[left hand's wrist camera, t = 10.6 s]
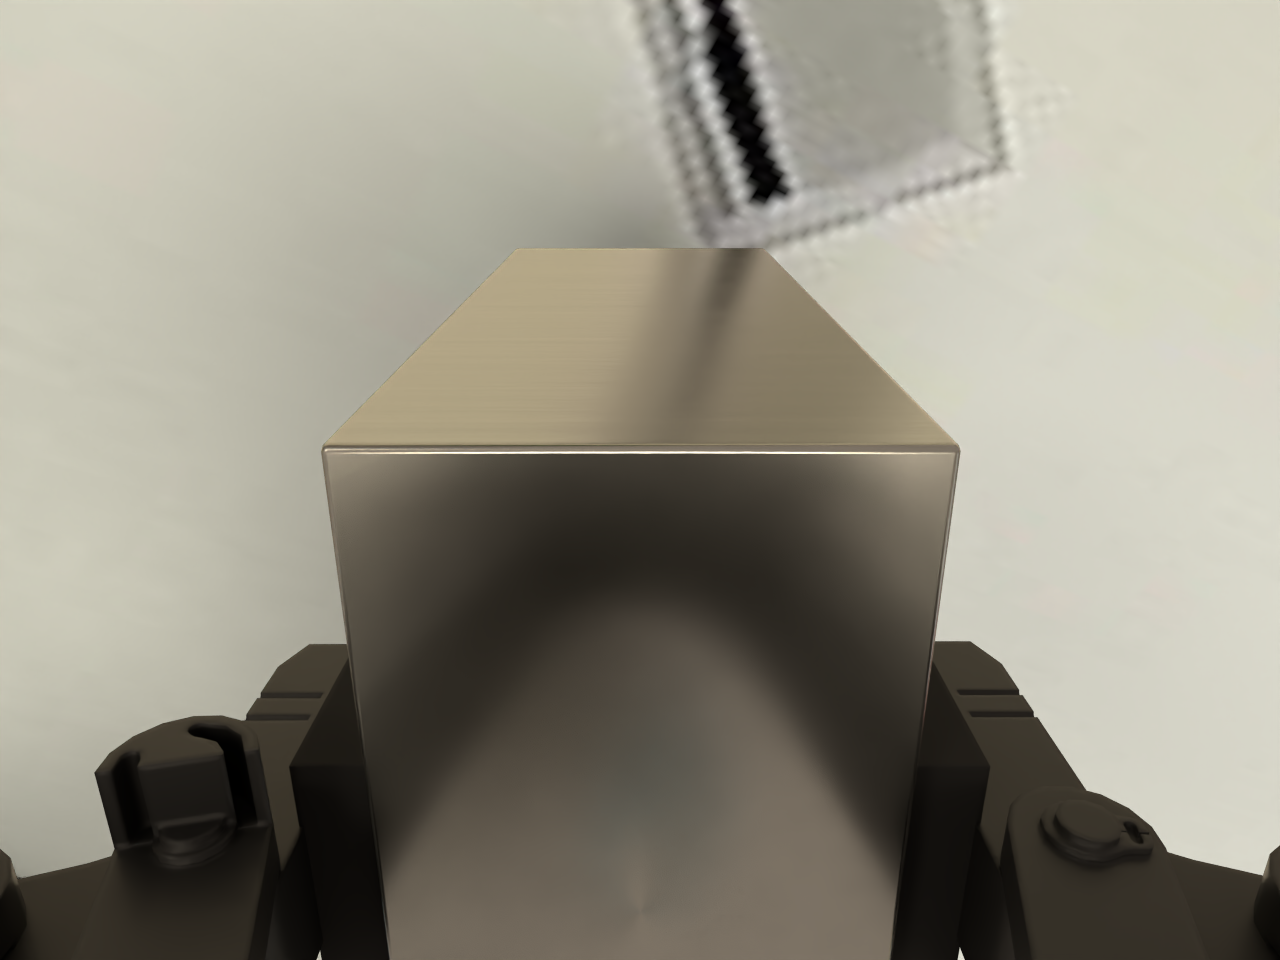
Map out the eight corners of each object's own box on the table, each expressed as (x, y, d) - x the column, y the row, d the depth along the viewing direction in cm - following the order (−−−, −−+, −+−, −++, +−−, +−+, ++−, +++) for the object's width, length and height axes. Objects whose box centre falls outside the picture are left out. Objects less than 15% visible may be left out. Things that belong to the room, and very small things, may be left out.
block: (765, 248, 17) (965, 445, 7) (745, 655, 21) (857, 1224, 10) (515, 248, 17) (316, 445, 7) (534, 655, 21) (423, 1224, 10)
